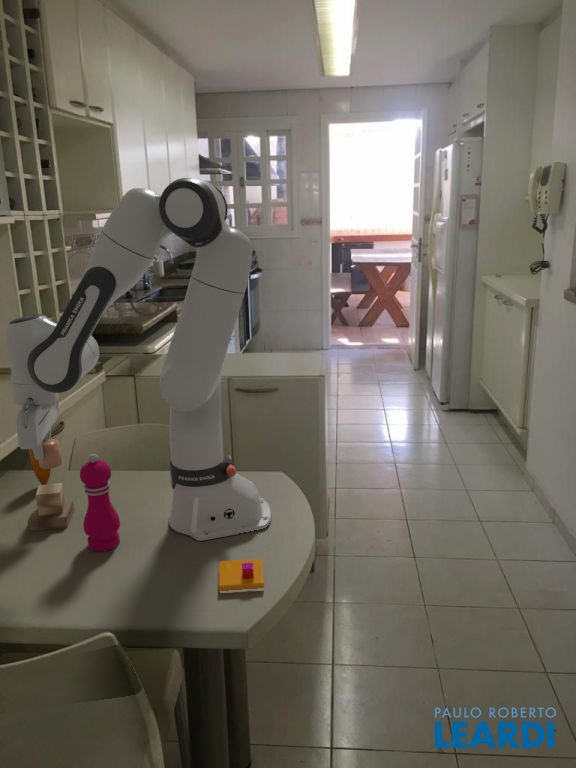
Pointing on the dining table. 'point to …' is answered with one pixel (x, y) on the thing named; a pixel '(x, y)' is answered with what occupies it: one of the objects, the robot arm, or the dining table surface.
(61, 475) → the dining table surface
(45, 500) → the cube
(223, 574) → the orange square tile
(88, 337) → the robot arm
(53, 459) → the tan capsule
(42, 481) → the carrot
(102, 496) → the pepper mill
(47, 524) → the slab
